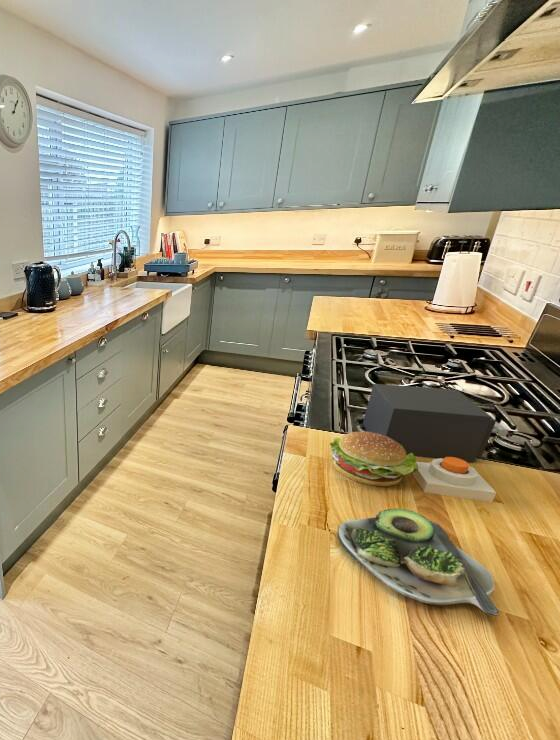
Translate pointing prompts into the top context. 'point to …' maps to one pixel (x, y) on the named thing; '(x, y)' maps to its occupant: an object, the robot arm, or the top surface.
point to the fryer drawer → (493, 428)
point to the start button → (455, 465)
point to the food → (372, 458)
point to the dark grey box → (427, 420)
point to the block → (452, 482)
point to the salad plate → (417, 559)
